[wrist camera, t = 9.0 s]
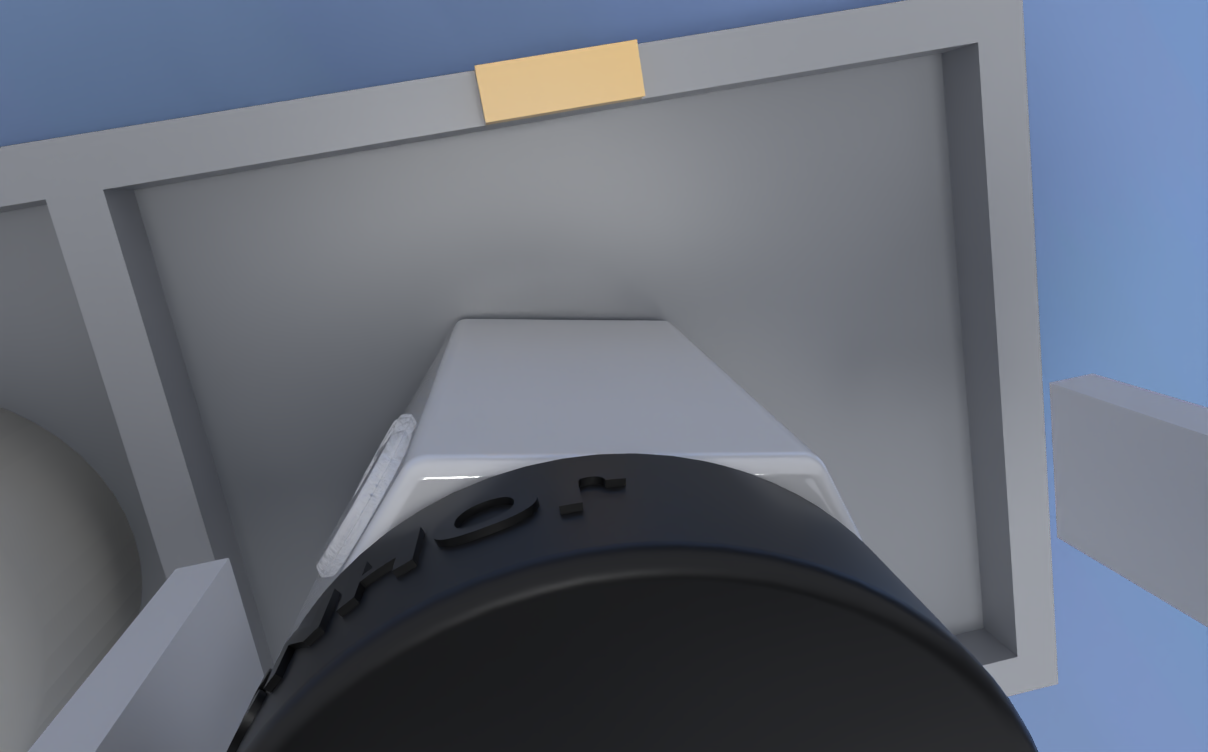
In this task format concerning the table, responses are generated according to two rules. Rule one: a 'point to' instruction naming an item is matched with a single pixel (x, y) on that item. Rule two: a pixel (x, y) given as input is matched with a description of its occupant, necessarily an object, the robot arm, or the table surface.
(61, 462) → the white jar with lid
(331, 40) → the table surface
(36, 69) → the table surface
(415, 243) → the divided grey tray
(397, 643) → the jar
